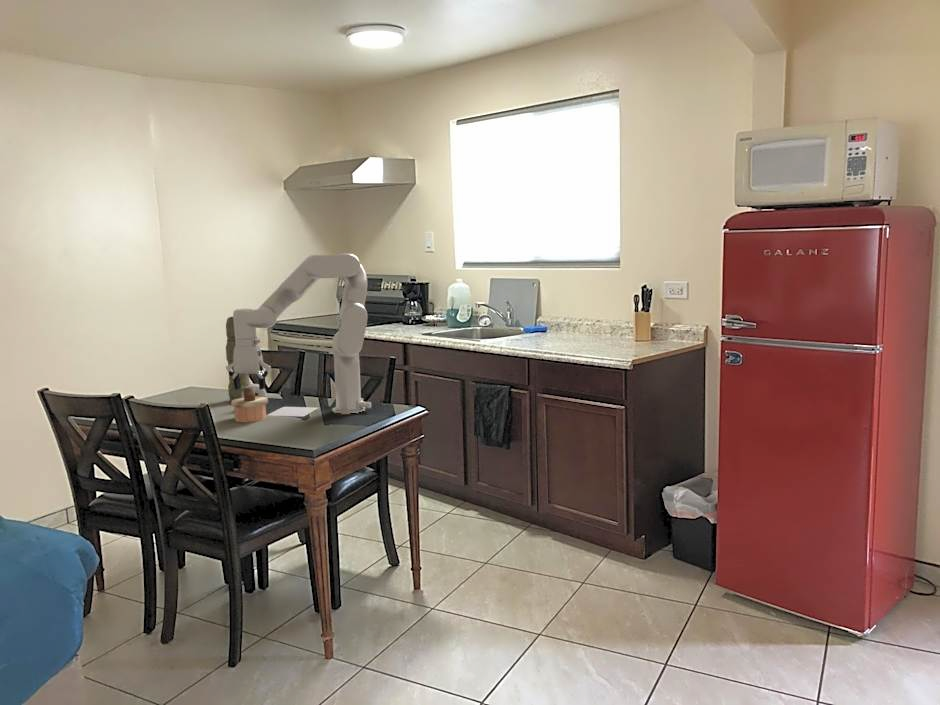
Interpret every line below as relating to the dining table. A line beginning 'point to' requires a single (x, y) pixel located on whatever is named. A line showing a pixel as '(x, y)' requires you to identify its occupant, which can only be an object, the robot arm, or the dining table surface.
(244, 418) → the bowl
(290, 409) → the mat
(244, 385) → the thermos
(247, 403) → the lid
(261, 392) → the donut
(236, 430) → the dining table surface
